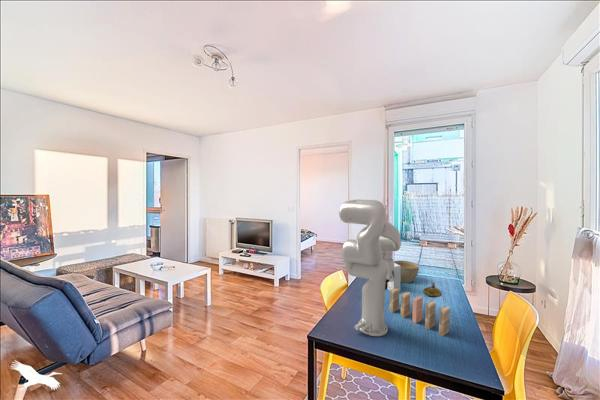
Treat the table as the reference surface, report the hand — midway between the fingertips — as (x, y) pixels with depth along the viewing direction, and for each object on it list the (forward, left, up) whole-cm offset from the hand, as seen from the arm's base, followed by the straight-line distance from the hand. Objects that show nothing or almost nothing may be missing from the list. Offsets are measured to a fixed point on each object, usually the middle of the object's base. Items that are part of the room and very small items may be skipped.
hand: (383, 289), depth 135 cm
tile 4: (-1, -31, -8) cm, 32 cm away
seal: (+37, -7, -9) cm, 38 cm away
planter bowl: (+41, +13, -9) cm, 44 cm away
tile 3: (-1, -25, -8) cm, 26 cm away
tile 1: (-1, -13, -8) cm, 15 cm away
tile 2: (-1, -19, -8) cm, 21 cm away
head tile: (-1, -7, -8) cm, 11 cm away
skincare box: (+23, +15, -9) cm, 29 cm away
